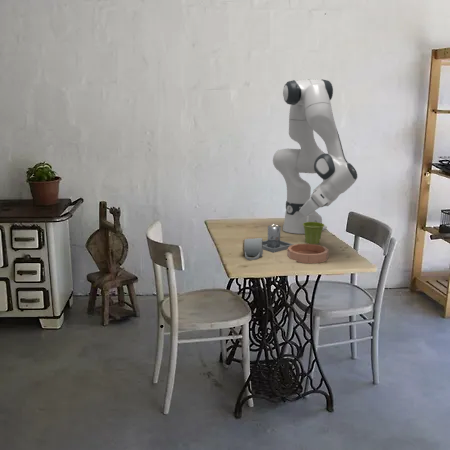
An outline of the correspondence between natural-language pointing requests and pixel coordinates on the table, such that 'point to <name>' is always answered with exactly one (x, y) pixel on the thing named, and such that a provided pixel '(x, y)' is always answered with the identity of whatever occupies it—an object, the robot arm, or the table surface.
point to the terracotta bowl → (308, 253)
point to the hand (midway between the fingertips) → (299, 216)
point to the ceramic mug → (253, 248)
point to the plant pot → (313, 232)
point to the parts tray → (282, 247)
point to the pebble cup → (274, 236)
